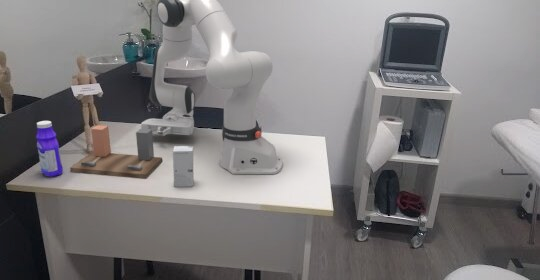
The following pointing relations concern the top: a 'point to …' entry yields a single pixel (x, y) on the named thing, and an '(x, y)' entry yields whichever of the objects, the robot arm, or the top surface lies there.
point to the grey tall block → (145, 144)
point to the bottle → (48, 149)
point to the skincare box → (183, 166)
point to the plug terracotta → (101, 140)
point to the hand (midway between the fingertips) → (160, 133)
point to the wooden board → (117, 165)
